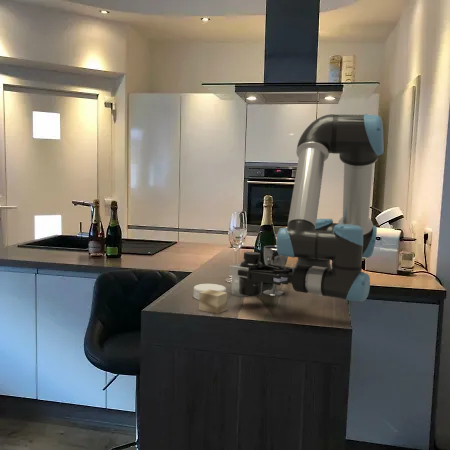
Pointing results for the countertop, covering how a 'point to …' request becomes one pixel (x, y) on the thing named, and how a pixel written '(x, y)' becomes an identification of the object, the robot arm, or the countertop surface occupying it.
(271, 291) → the wine glass
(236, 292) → the frosted glass cup
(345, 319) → the countertop surface
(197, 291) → the brie cheese wheel
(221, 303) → the maple block
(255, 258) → the supplement bottle
